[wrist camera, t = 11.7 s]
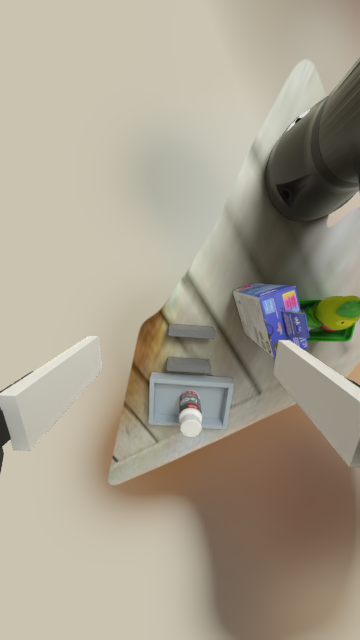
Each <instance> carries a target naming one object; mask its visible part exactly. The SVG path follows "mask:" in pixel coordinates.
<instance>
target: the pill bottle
mask: <svg viewBox="0 0 360 640" xmlns="http://www.w3.org/2000/svg"><path fill="white" fill-rule="evenodd" d="M179 421H180V429H181V432H182V433H183V434H184V435H185V436H188V437H195V436H197V435H198V434H199V433H200V432H201V429H202V427H201V422H202V411H201V403H200V397H199V395H198V393H197V392H195V391H193V390H187V391H184V392H183V393H182V394H181V395H180V401H179Z"/></svg>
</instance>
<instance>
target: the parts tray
mask: <svg viewBox="0 0 360 640" xmlns="http://www.w3.org/2000/svg"><path fill="white" fill-rule="evenodd" d="M233 388H234V383H233V380H232V378H231V377H218V376H204V375H189V374H174V373H159V372H152V373H151V376H150V392H149V424H151V425H166V426H180V421H179V401H180V395H181V394H182V393H183V392H184V391H187V390H193V391H195V392H197V393H198V395H199V397H200V403H201V411H202V422H201V427H202V428H210V429H225V430H227V425H228V419H229V413H230V407H231V400H232V394H233Z"/></svg>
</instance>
